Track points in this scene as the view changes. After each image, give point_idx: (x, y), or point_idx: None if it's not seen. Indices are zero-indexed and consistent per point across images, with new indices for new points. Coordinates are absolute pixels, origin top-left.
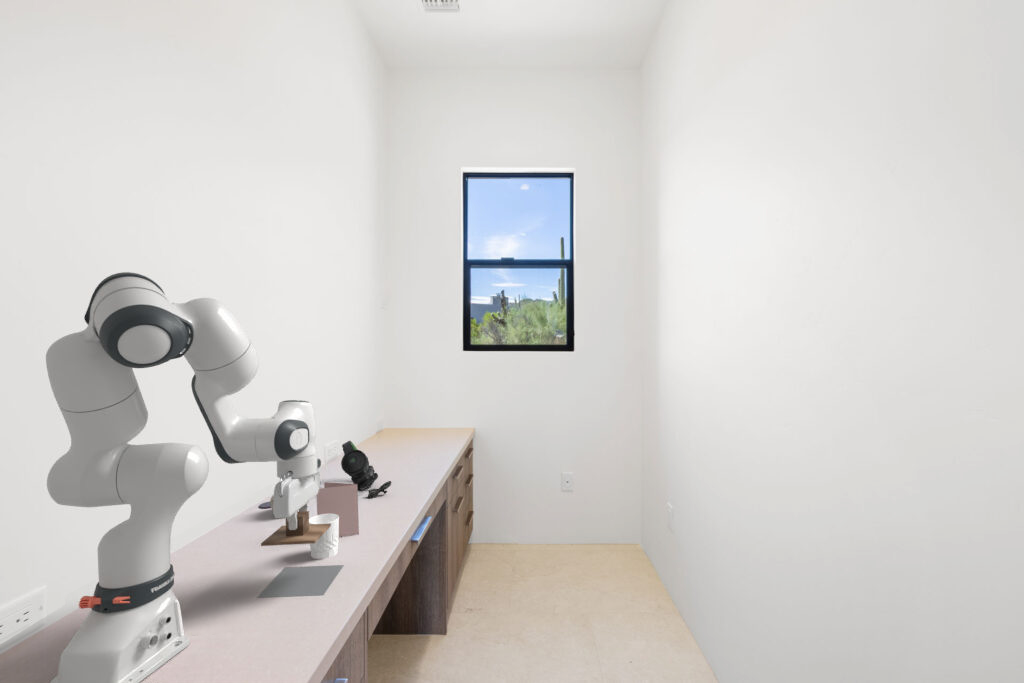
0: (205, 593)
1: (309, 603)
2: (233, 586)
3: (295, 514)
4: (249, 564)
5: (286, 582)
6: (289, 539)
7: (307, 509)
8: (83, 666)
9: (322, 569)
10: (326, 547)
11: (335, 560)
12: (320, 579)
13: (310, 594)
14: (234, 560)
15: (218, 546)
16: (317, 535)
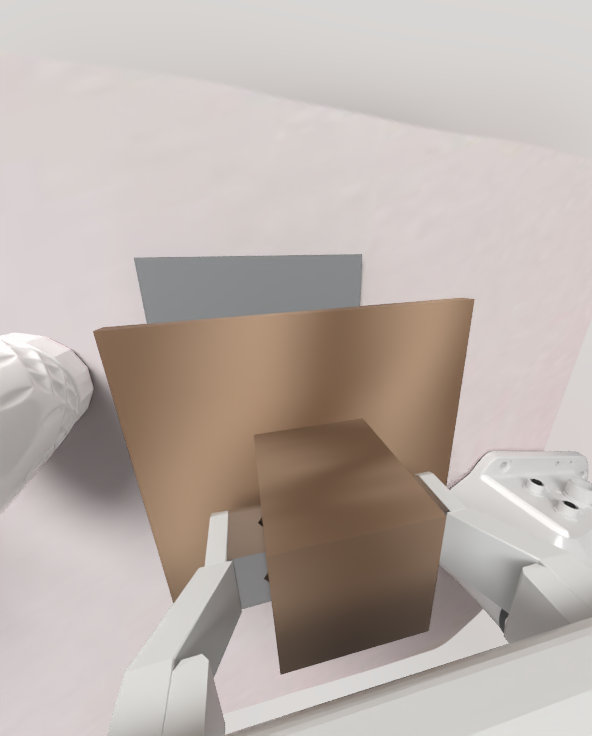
0: None
1: (385, 285)
2: None
3: (576, 570)
4: (151, 568)
5: None
6: (417, 458)
7: (185, 604)
8: None
9: None
10: (53, 371)
11: (77, 318)
12: (259, 307)
13: (353, 298)
14: (129, 616)
15: (40, 711)
16: (379, 323)
